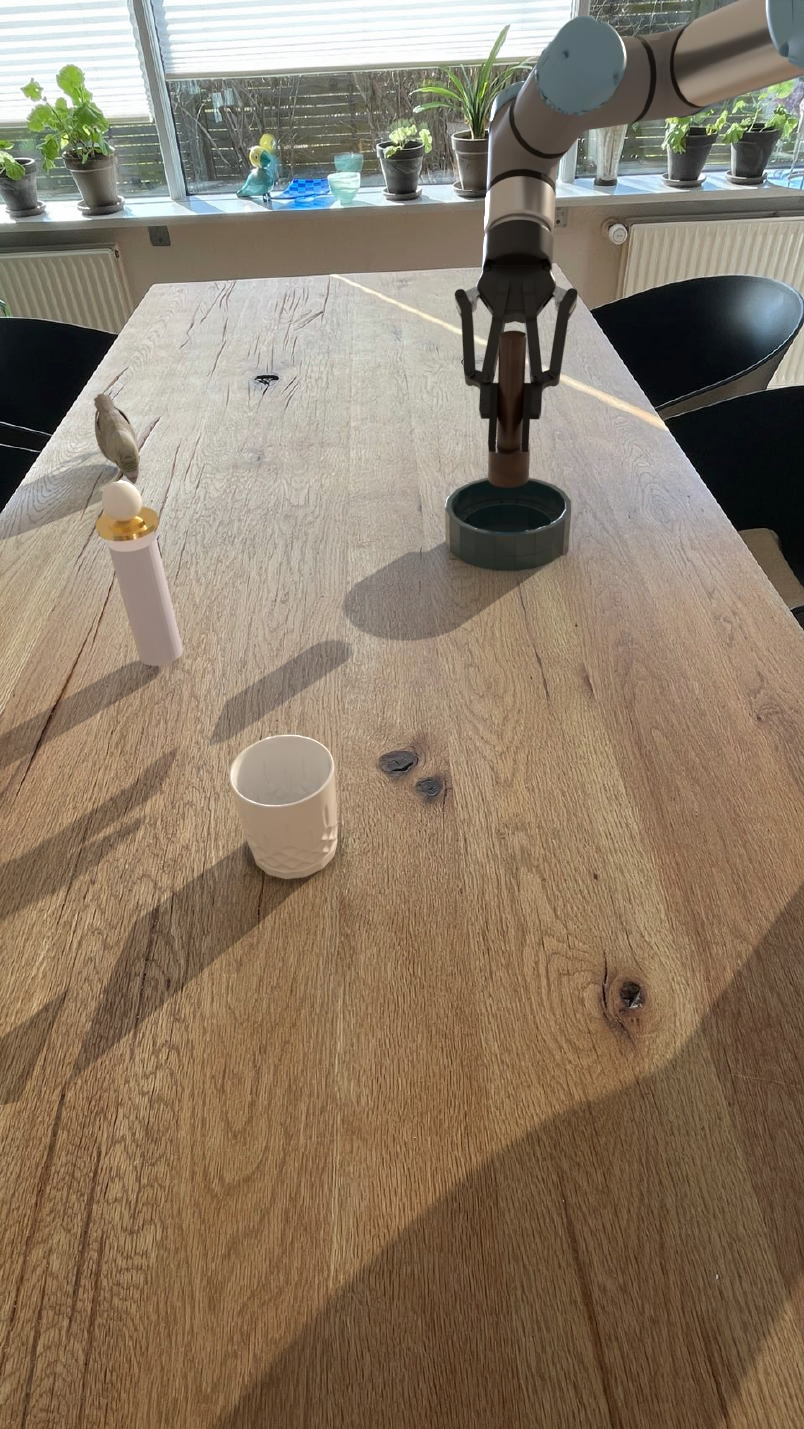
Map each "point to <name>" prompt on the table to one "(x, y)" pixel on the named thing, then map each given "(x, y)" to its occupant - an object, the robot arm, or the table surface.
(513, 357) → the brown pestle
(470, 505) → the bowl
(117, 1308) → the table surface
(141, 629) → the perfume bottle
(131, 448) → the decorative bird
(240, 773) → the white cup
